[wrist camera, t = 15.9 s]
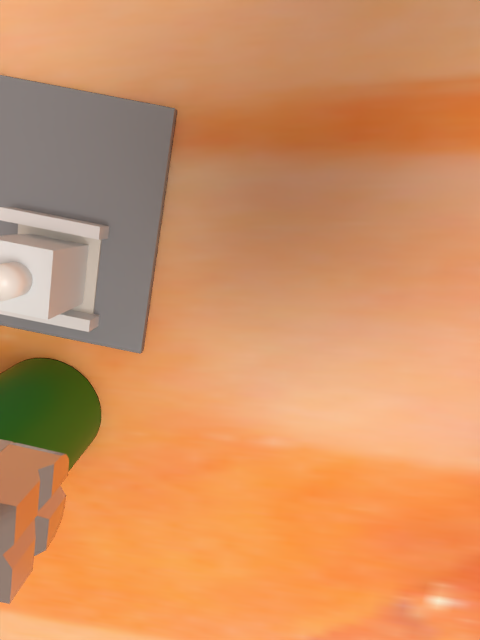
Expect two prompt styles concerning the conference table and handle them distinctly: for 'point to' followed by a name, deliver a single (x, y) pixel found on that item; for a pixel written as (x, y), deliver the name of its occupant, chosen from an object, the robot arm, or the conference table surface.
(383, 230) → the conference table surface
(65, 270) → the white cube with knob
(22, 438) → the motor
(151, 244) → the mounting plate
